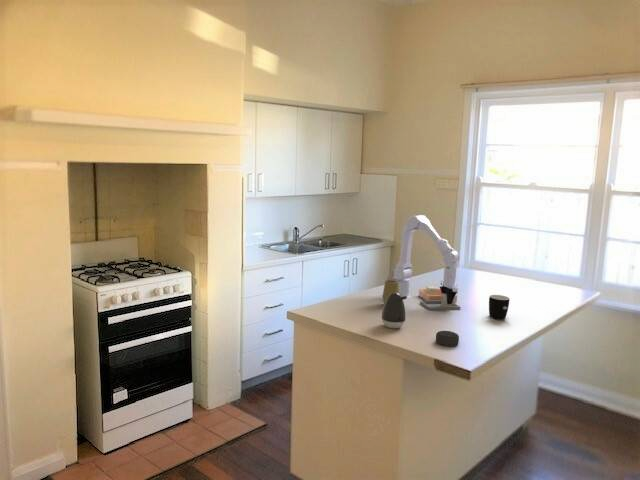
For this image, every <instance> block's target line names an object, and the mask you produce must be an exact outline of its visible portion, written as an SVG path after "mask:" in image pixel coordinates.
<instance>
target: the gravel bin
mask: <svg viewBox="0 0 640 480" xmlns="http://www.w3.org/2000/svg"><path fill="white" fill-rule="evenodd" d="M418 297H420V298H422V299H423V301H441V299H442V292H441V290H440V288H438V293H437V295H431V296H430V295H428V294H427V293H426V288H418ZM457 300H458V295H457V294H456V295H455V297H454V303H457V302H458V301H457Z"/></svg>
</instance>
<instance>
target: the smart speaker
mask: <svg viewBox="0 0 640 480" xmlns="http://www.w3.org/2000/svg"><path fill="white" fill-rule="evenodd" d="M435 342H436V343H437V344H439V345H441V346H443V345H444V347H455V346H456V347H457V345H458V344H459V343H460V336H459V334H458V333H456V332H454V331H450V330H439V331H437V332H436V334H435Z"/></svg>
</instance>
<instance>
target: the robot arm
mask: <svg viewBox="0 0 640 480" xmlns="http://www.w3.org/2000/svg"><path fill="white" fill-rule="evenodd" d="M417 230H419V231H423V232H424V233H426V234H427V235H428V236H429V237H430V238H431V240H432V241H433V242H434V247H435V248H436V249H437V250H438V252H439V253H440V254H441V255H442V260H443V261H444V268H443V280H440V286H439V289H440V290H441V292H442V293H446V294H447V304H452V302H453V299H454V297H455V295H457V294H458V292H459V291H458V290H459V289H458V287H457V286H458V284H457V283H456V279H457V268H458V267H457V266H458V261H459V260H460V253H459V251H457V250H455V249H454V248H453V247H452V246H451V245H450V244H449V241H448V239H445V238H441V237H440V235H439V234H438V233H437V231H436V230H435V228H434V227H433V225H432V224H431V221H430V220H429V218H428V217H427V216H426V215H424V214H420V215H419V214H418V215H411V216H409V217H408V218H406V222H405V223H404V225H402V232H401V242H400V253H399V254H400V255H399V260H398V263H397V264H396V265H395V269H394V274H395V276H396V277H397V282H398V284H399V294H400V295H401V297H404V296H407V298H411V296H410V282H411V281H410V280H411V277H412V276H413V275H414V272H413V271H414V270H413V265H412V263H411V255H412V247H413V235H414V232H416V231H417Z"/></svg>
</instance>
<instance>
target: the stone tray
mask: <svg viewBox="0 0 640 480" xmlns="http://www.w3.org/2000/svg"><path fill="white" fill-rule="evenodd" d="M419 304H420V305H422V306H423V307H424V308H425V309H427V310H428V311H447V310H448V311H455V310H456V311H459V310H461V306H460V305H459V304H457V303H456V302H454V303H453V307H443V306H441V301H426V300H420V301H419Z"/></svg>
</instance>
